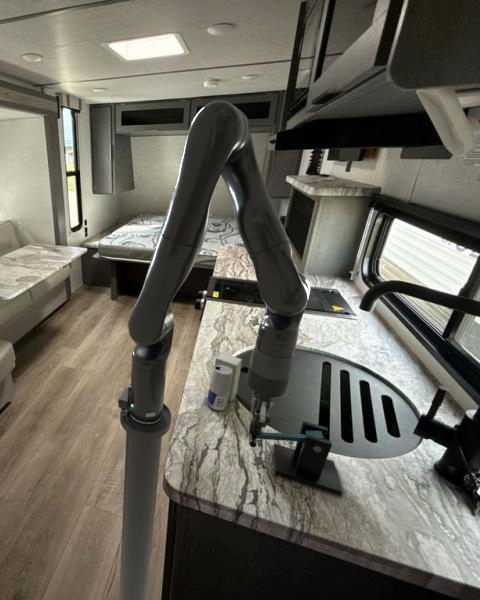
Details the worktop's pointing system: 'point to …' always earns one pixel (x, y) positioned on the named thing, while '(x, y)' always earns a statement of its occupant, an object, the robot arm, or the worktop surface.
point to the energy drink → (219, 386)
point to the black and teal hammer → (282, 436)
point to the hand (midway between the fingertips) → (254, 432)
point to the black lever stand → (308, 461)
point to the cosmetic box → (236, 367)
